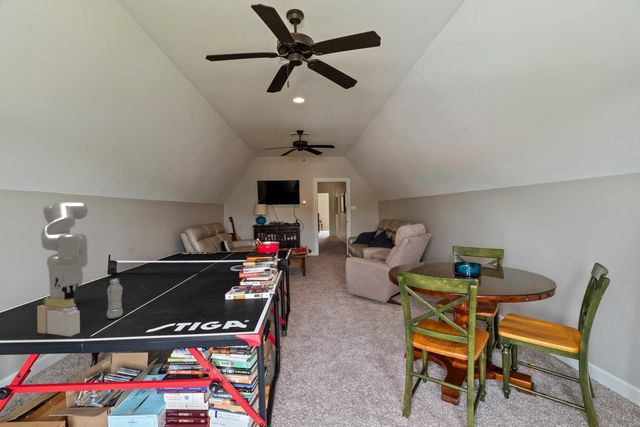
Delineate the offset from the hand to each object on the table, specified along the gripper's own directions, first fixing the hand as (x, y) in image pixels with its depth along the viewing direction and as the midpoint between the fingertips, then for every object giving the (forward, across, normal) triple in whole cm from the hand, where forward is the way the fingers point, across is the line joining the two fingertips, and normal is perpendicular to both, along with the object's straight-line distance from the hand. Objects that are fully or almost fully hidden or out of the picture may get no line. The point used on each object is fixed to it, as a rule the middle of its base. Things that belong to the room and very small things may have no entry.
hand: (69, 300), depth 129 cm
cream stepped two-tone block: (+14, +3, -2) cm, 14 cm away
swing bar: (+1, +3, -3) cm, 4 cm away
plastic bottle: (+14, -16, +8) cm, 23 cm away
